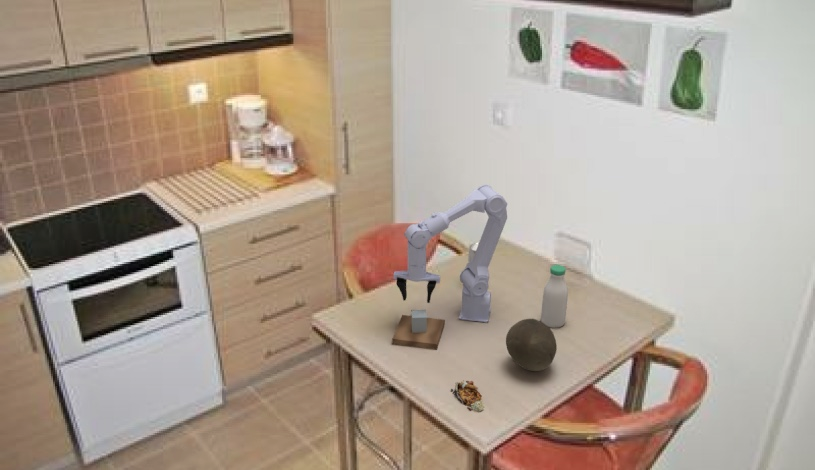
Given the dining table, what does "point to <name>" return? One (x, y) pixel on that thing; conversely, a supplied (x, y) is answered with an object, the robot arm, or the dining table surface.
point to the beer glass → (472, 251)
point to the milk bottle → (555, 298)
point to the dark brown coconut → (531, 344)
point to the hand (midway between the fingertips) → (416, 300)
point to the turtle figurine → (469, 396)
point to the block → (419, 321)
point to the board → (420, 340)
